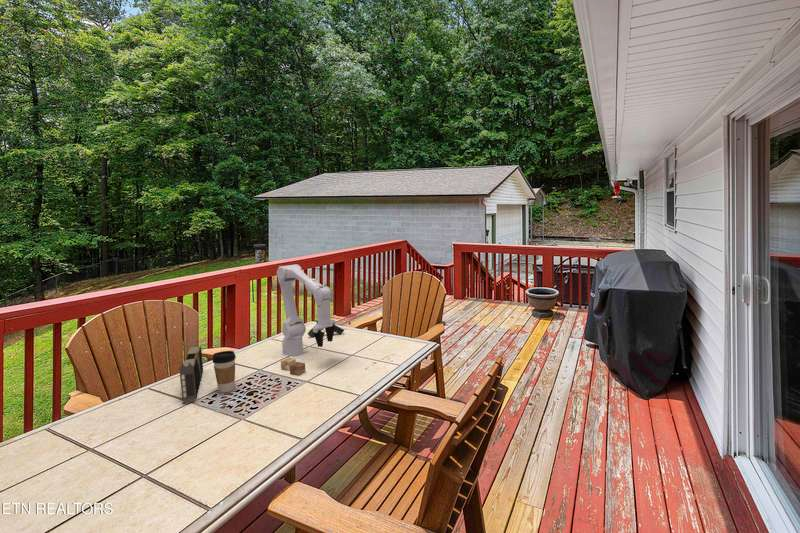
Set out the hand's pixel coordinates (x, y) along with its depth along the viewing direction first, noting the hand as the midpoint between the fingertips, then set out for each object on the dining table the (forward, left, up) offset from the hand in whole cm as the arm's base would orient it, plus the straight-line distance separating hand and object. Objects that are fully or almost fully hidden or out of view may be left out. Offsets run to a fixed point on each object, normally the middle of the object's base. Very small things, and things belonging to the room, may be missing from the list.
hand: (325, 343), depth 183 cm
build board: (-8, -14, -10) cm, 18 cm away
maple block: (-12, -11, -9) cm, 19 cm away
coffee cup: (-22, -37, -10) cm, 44 cm away
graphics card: (-37, -39, -10) cm, 55 cm away
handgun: (-26, +37, -10) cm, 46 cm away
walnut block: (-5, -14, -9) cm, 17 cm away
